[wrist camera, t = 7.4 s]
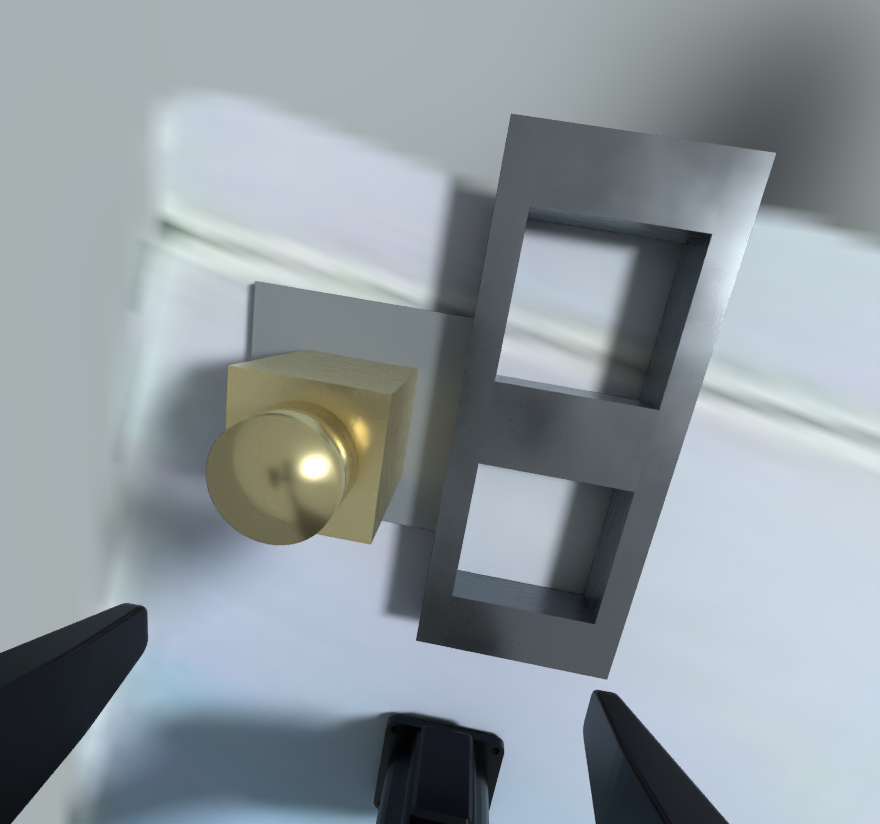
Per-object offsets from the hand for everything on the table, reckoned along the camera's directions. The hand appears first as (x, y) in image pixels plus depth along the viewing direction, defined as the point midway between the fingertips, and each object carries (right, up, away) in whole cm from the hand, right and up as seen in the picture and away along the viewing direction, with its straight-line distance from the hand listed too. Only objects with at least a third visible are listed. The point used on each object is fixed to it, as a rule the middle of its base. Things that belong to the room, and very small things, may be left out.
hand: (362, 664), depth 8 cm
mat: (-2, +5, +11) cm, 12 cm away
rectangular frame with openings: (+7, +4, +10) cm, 13 cm away
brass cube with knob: (-2, +5, +11) cm, 12 cm away
